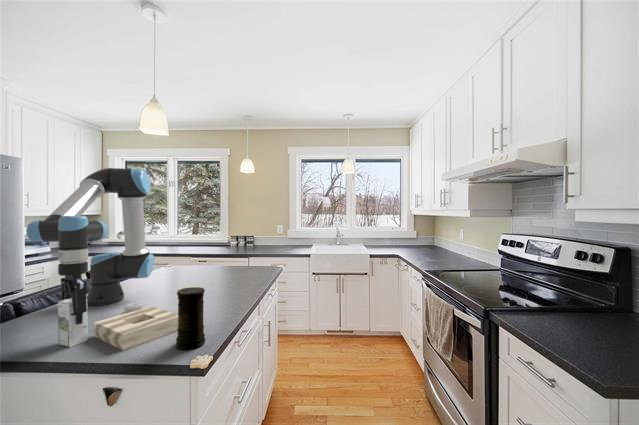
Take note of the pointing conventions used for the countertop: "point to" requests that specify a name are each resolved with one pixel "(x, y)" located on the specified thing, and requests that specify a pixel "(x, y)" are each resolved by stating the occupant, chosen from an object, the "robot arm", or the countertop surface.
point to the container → (190, 318)
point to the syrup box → (69, 325)
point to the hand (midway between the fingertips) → (73, 330)
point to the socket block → (136, 327)
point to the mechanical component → (133, 307)
